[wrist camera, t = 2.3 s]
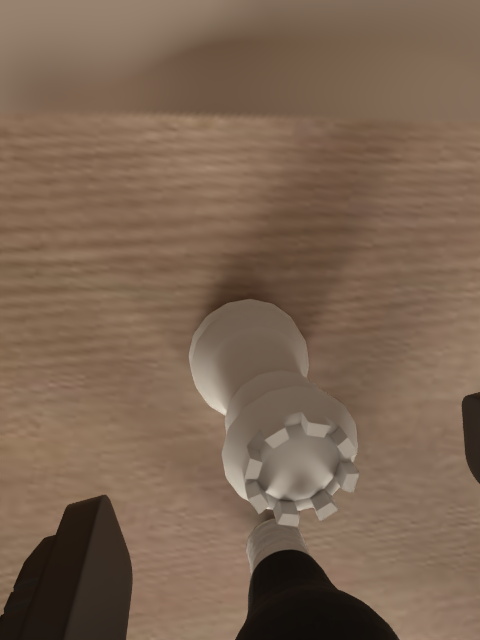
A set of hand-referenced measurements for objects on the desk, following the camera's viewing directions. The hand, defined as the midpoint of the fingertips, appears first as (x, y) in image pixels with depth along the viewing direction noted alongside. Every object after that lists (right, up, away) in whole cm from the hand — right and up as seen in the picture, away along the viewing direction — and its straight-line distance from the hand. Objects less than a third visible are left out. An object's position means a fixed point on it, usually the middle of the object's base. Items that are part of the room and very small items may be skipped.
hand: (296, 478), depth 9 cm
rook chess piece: (-1, +2, +8) cm, 8 cm away
